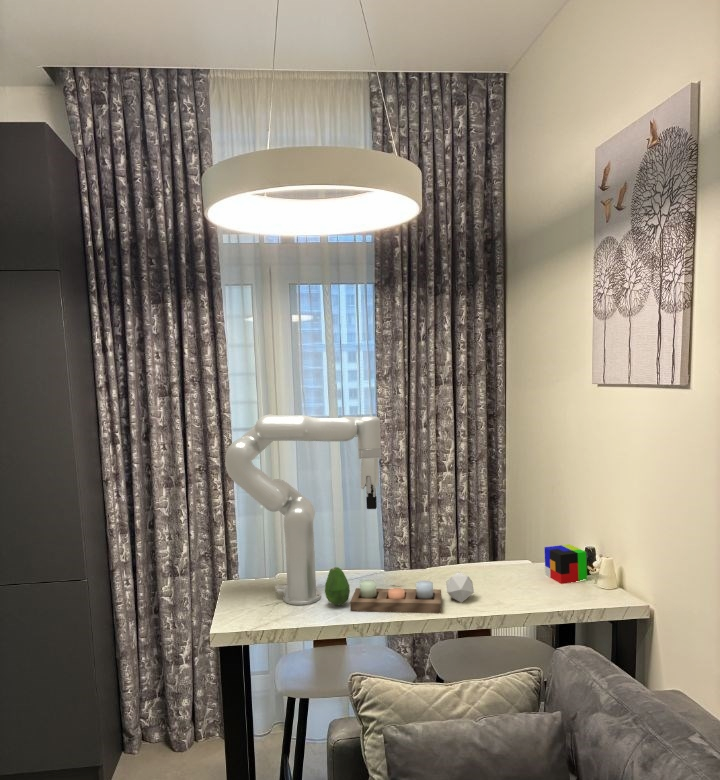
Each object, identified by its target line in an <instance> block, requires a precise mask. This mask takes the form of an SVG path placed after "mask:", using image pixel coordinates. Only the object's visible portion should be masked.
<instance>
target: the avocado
mask: <svg viewBox="0 0 720 780" xmlns="http://www.w3.org/2000/svg"><path fill="white" fill-rule="evenodd" d="M350 592H351V591H350V584H349V581H348V578H347V576H346V575H345V572H344V571H343V570H342V569H341V568H340V567H337V566H335V567H333V568H330V569H329V572H328V575H327V578H326V581H325V586H324V594H325V598H326V599H327V601H328V602H329V603H331V604H332V605H334V606H343V605H345V604H346V602H348V601H349V597H350Z"/></svg>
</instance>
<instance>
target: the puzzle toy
mask: <svg viewBox="0 0 720 780" xmlns="http://www.w3.org/2000/svg"><path fill="white" fill-rule="evenodd" d="M543 549H544V571H545V572H544V574H545V576H547V577H548V578H550V579H552V580H553V581H555V582H557V583H559V584H561V585H564V584H572V583H571V582H573V583H577V582H576V581H580V580H583V579H587V580H588V571H587V570H588V567H587V565H588V563H587V551H585V550H582V549H581V548H578V547H576V546H574V545H572V544H561V545H554V546H552V545H551V546H545V547H544V548H543Z"/></svg>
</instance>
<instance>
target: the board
mask: <svg viewBox="0 0 720 780" xmlns="http://www.w3.org/2000/svg"><path fill="white" fill-rule="evenodd" d="M389 589H390V588H376V590H377V595H376V596H375V597H373V598H363V597H361V596H360V587H358V588H357V587H356V588H355V590H354V592H353V594H352V596H351V598H350V601H349V604H350V605H349V608H350V611H349V612H357V613H359V612H365V613H405V614H407V613H408V614H409V613H413V614H417V613H418V614H442V589H435V588H433V597H432V598H430V599H420V598H418V597H417V589H416V588H403V589H404V590H405V599H389V598H388V590H389Z"/></svg>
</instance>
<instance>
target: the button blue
mask: <svg viewBox="0 0 720 780" xmlns="http://www.w3.org/2000/svg"><path fill="white" fill-rule="evenodd" d="M415 586H416V588H415V589H417V597H418V598H420V599H430V598H432V597H433V589H434V583H433V582H432V581H430V580H419V581H417V582H416V584H415Z"/></svg>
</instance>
